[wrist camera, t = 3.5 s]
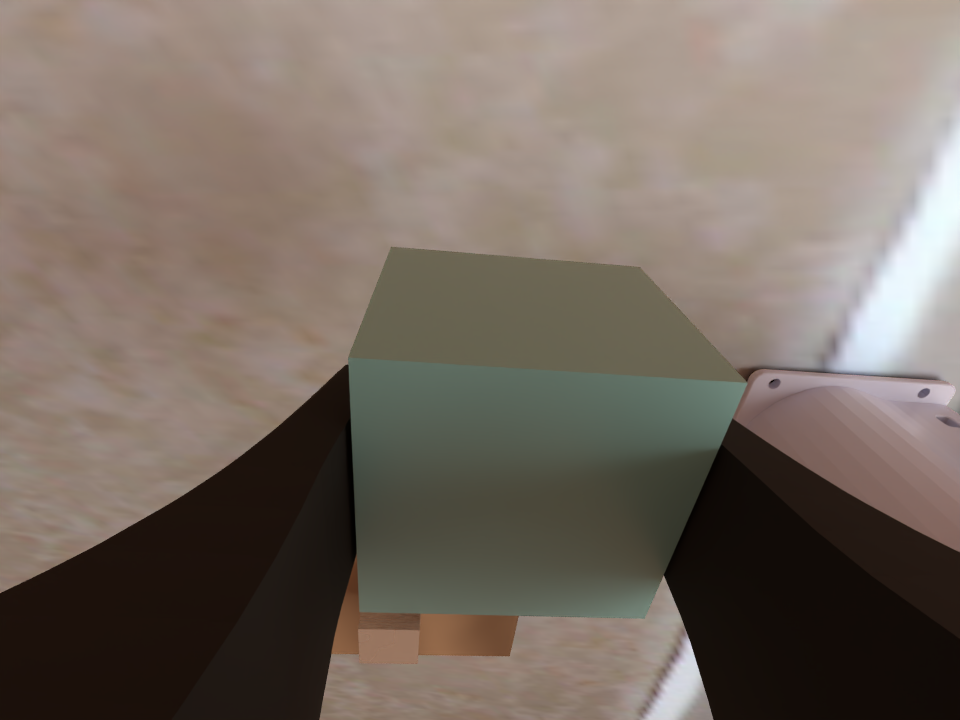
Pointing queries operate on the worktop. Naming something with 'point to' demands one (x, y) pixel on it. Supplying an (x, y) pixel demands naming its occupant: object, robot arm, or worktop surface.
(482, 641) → the board
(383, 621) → the wooden block
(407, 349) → the sage green cube
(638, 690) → the worktop surface
